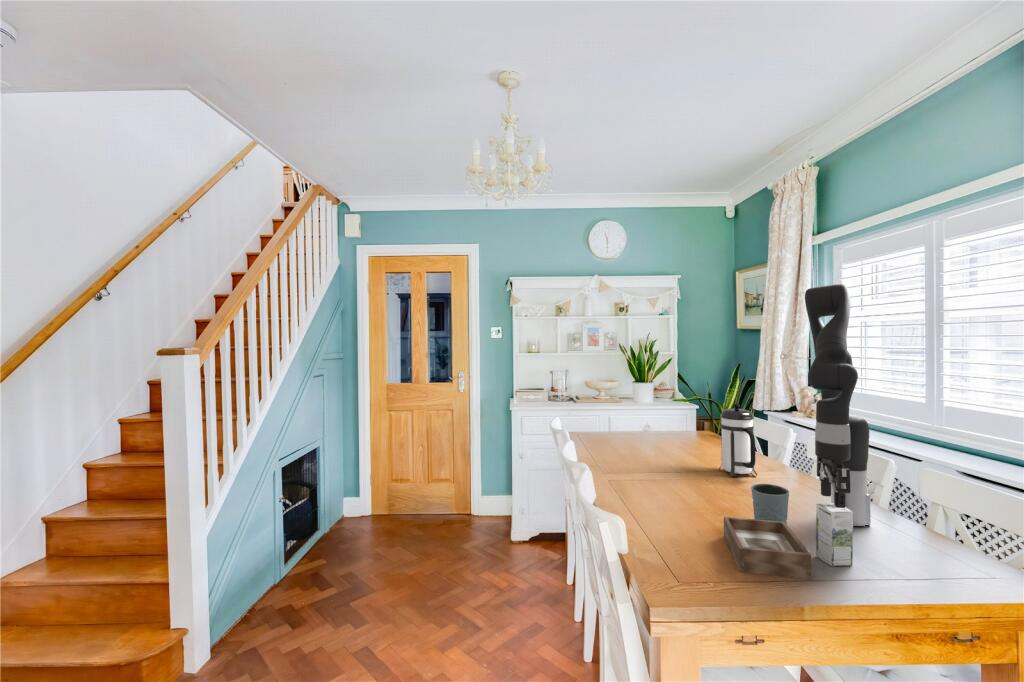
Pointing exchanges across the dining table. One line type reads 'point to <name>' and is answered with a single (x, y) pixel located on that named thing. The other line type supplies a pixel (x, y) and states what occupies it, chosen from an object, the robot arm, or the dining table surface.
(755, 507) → the blue-grey cup
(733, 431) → the coffee press
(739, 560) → the brown wooden shallow tray
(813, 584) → the dining table surface
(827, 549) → the syrup box
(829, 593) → the dining table surface
